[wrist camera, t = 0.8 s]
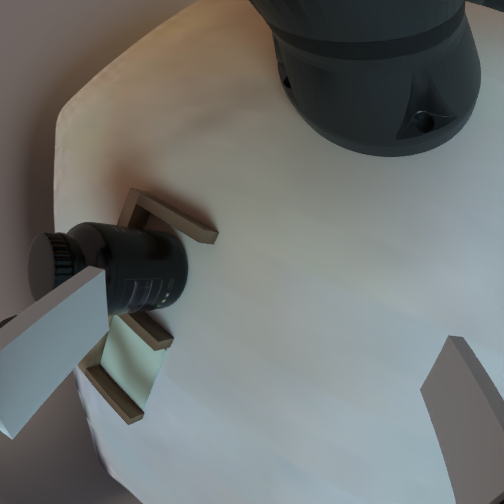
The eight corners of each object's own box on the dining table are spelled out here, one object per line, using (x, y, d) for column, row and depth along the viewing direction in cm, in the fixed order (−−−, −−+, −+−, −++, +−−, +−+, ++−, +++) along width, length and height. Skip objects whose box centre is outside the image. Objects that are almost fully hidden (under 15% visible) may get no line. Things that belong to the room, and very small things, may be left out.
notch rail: (146, 191, 29) (131, 187, 27) (218, 232, 25) (204, 229, 23) (91, 363, 32) (77, 366, 30) (142, 419, 28) (128, 424, 26)
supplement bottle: (126, 270, 29) (15, 267, 19) (161, 216, 28) (43, 192, 17) (162, 325, 27) (42, 343, 16) (205, 270, 25) (74, 269, 14)
